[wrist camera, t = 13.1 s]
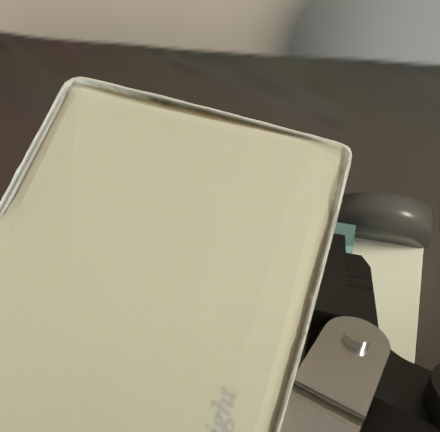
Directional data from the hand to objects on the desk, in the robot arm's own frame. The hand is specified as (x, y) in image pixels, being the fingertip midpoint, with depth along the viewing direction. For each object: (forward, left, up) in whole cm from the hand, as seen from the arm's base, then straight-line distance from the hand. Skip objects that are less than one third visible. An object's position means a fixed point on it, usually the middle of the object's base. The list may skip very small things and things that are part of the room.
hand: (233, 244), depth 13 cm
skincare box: (0, +3, -5) cm, 6 cm away
